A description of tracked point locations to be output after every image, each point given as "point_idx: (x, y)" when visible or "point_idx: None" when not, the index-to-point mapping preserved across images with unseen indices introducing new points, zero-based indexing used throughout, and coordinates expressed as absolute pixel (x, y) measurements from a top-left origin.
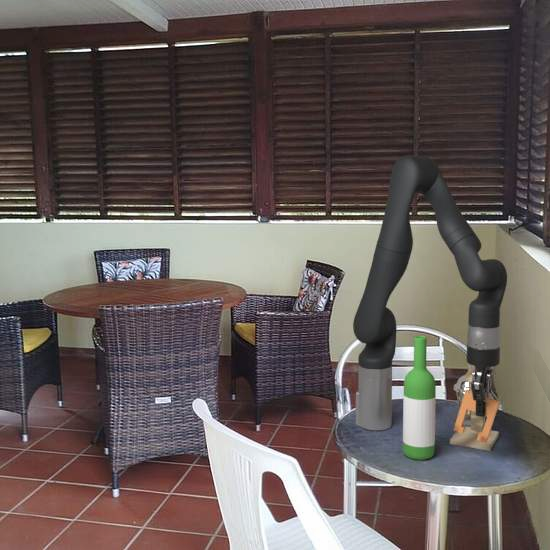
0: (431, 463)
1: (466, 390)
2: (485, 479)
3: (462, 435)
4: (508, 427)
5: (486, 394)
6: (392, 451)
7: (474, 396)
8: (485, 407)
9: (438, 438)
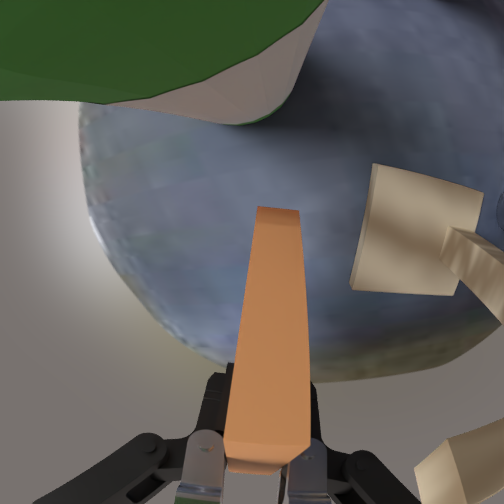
0: (188, 130)
1: (264, 445)
2: (156, 285)
3: (420, 202)
4: None
5: (279, 480)
6: None
7: (115, 458)
8: None
9: (405, 123)
